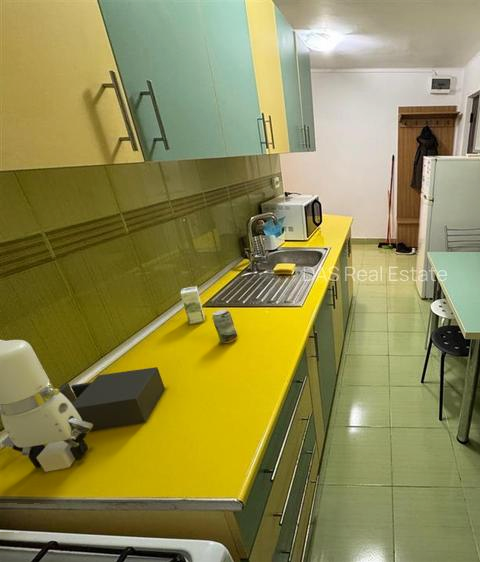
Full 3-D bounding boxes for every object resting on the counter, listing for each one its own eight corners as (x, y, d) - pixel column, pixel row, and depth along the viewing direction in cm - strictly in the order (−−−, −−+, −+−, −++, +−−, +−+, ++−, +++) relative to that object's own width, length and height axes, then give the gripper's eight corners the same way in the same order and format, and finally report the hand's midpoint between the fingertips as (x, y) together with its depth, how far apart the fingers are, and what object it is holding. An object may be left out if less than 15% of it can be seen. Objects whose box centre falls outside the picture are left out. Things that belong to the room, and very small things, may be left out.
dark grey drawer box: (79, 433, 76) (66, 409, 73) (108, 397, 87) (98, 375, 84) (145, 422, 79) (135, 398, 75) (165, 389, 90) (157, 366, 87)
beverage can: (229, 346, 110) (222, 317, 105) (213, 342, 112) (206, 314, 108) (242, 337, 115) (236, 309, 111) (226, 333, 118) (220, 306, 113)
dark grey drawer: (5, 441, 73) (-9, 422, 70) (41, 406, 83) (31, 388, 81) (104, 425, 77) (95, 406, 74) (127, 393, 87) (120, 376, 85)
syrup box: (204, 315, 131) (196, 285, 126) (204, 322, 127) (196, 290, 121) (189, 319, 129) (180, 288, 123) (189, 325, 124) (180, 293, 119)
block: (45, 472, 66) (36, 457, 65) (59, 453, 71) (51, 439, 69) (69, 467, 67) (61, 453, 66) (82, 449, 71) (74, 435, 70)
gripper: (88, 378, 67) (116, 437, 74) (-8, 392, 63) (30, 452, 70) (65, 403, 60) (97, 465, 67) (-45, 420, 57) (1, 483, 64)
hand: (63, 458), depth 69 cm, fingers open, 6 cm apart
